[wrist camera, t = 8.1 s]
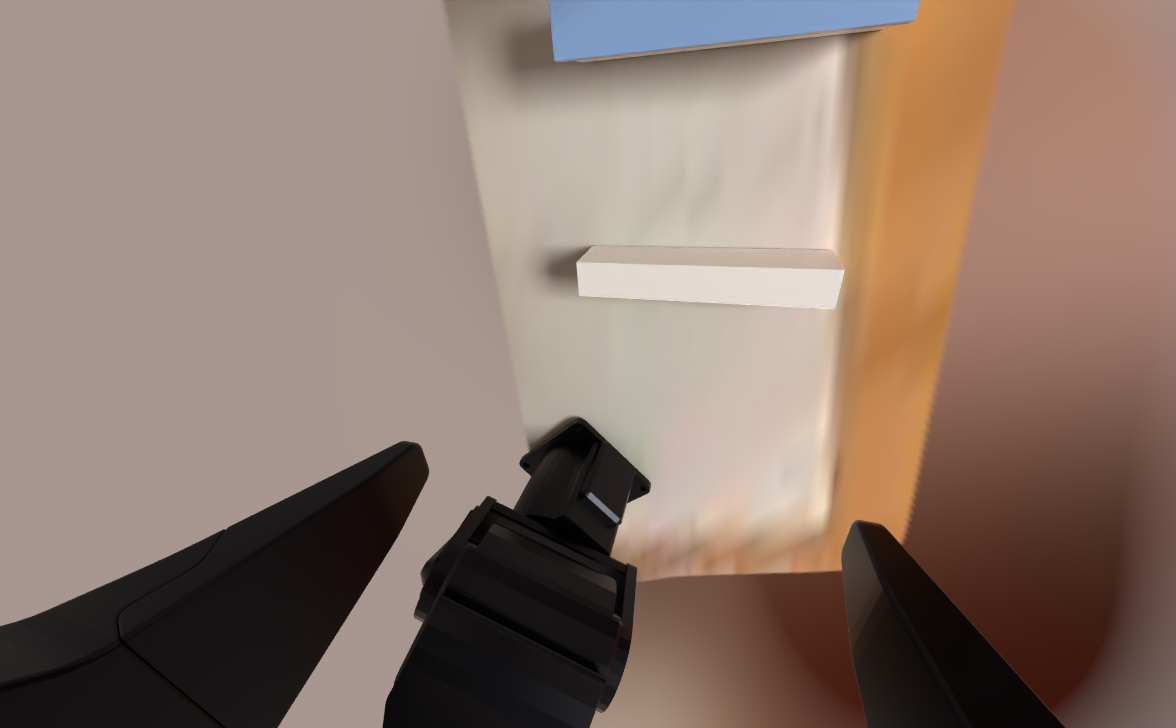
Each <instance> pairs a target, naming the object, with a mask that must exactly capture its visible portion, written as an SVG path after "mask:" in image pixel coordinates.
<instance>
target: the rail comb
mask: <svg viewBox="0 0 1176 728" xmlns="http://www.w3.org/2000/svg"><path fill="white" fill-rule="evenodd" d="M919 3H920V0H549V7H550V19H551V30H552V42H553V54H554V61H556V62H560V63H561V62H570V61H577V62H581V63H584V62H593V61H602V60H612V59H621V58H630V57H639V56H648V55H657V54H666V53H675V52H684V51H694V50H703V49H712V48H721V47H730V46H739V45H748V44H757V43H766V42H776V41H785V40H794V39H803V38H812V37H821V36H830V35H839V34H848V33H858V32H867V31H876V30H883V29H885V28H887V27H889V26H892V25H901V24H908V23H910V22H912V21H915V18H916V14H917V11H918V7H919ZM576 265H577V277H578V290H579V296H589V297H609V298H628V299H647V300H667V301H686V302H705V303H725V304H744V305H763V306H783V307H802V308H821V309H835V307H836V303H837V299H838V295H839V291H840V287H841V283H842V279H843V275H844V271H845V270H844V268H843V266H842V265H841V263H840V262H839V260H838V259H837V257H836V256H835V254H834V253H833V251H832V250H814V249H755V248H695V247H636V246H592V247H591V248H590V249H589V250H588V251H587V252H586V253H585V254H584V255H583V256H582V257H581V258H580V259H579V260H578V261H577V262H576Z"/></svg>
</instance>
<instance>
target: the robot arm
mask: <svg viewBox="0 0 1176 728" xmlns="http://www.w3.org/2000/svg"><path fill="white" fill-rule="evenodd" d="M578 426H580V427H582V428H583V429H581V428H579V427H578ZM520 466H521V467H522V468H523V469H524V470H525V471H526V472H527V473H528V474H530V475H531V478H530V480H529V482H528V484H527V485H526V487H525V489H524V491H523V493H522V495H521V496H520V498H519V500H518V502H517V504H516V505H515V507H514V509H513V510H512V509H510V508H508V507H506V506H504V505H502V504H500V503H498V502H496V501H497V500H495V499H494V498H491V497H489V496H487V497H486V498H485V500H484V501H483V502H482V504H481V505H480V506H476V507H475V508H474V510H471V511H470V512H469V514H468V515H467V517H466V518H465V520H464V521H463V523H462V524H461V526H460V528H459V529H458V530H457V532H456V533H455V534H454V535H453V537H452V538H451V539H450V540H449V541H448V542H447V543H446V544H445V545H443V546H442V548H440V549H439V551H437V552H436V553H435V554H434V555H433V556H432V557H431V558H430V559H429V560H428V561H427V562H426V564H425V565H424V567H423V569H422V571H421V578H422V584H423V588H422V590H421V593H420V599H419V601H418V603H417V606H416V609H415V612H414V618H415V619H417V620H419V621H421V622H423V624H422V626H421V628H420V630H419V632H418V634H417V636H416V638H415V640H414V642H413V644H412V646H411V648H410V650H409V652H408V654H407V656H406V658H405V660H404V662H403V664H402V666H401V668H400V670H399V672H398V674H397V676H396V679H395V681H394V686H393V688H392V690H391V692H390V694H389V695H388V698H387V700H386V705H385V713H384V721H383V728H589V727H590V724H591V722H592V719H593V716H594V714H595V711H598V712H600V713H602V712H604V711H605V710H606V709H607V708H608V706H609V704H610V703H611V701H612V699H613V697H614V695H615V693H616V690H617V688H618V686H619V683H620V681H621V678H622V675H623V672H624V669H625V665H626V662H627V657H628V654H629V649H630V644H631V637H632V628H633V614H634V602H635V588H636V575H637V567H635V566H633V565H631V564H628V563H627V564H624V563H622V562H620V561H618V560H616V559H614V558H612V557H610V555H611V552H612V548H613V544H614V541H615V537H616V533H617V530H618V526H619V525H620V524H621V523H622V520H623V516H624V512H625V509H626V505H627V503H629V502H631V501H633V500H635V499H637V498H639V497H641V496H643V495H645V494H648V493H649V491H650V488H651V483H650V482H649V480H648V479H647V478H645V477H644V476H643V475H642V474H641V473H640V472H639V471H638V470H637V469H636V468H635V467H634V466H633V465H632V464H631V463H630V462H629V461H628V460H627V459H626V458H624V457H623V456H622V455H621V454H620V453H619V452H618V451H617V450H616V449H615V448H614V447H613V446H612V445H611V444H610V443H609V442H608V441H607V440H606V439H605V438H603V437H602V436H601V435H600V434H599V433H598V432H597V431H596V430H595V429H594V428H593V427H592V426H591V425H590V424H589V423H588V422H587V421H585V420H583V419H577V420H575V421H573V422H572V423H570V424H569V425H567V426H566V427H565V428H563V429H562V430H560V431H559V432H557V433H556V434H554V435H553V436H552V437H550V438H549V439H547V440H546V441H544V442H543V443H542V444H540V445H539V446H537V447H536V448H534V449H533V450H531V451H530V452H529V453H527V454H526V455H524V456H523V457H522V459H521V460H520ZM428 475H429V467H428V464H427V462H426V459H425V456H424V453H423V450H422V448H421V446H420V445H419V444H418V443H413V442H407V441H402V442H399V443H397V444H395V445H393V446H391V447H389V448H387V449H385V450H383V451H381V452H379V453H377V454H375V455H373V456H371V457H369V458H367V459H365V460H363V461H361V462H359V463H357V464H355V465H353V466H351V467H349V468H347V469H344V470H342V471H341V472H338V473H336V474H335V475H333V476H331V477H329V478H327V479H324V480H322V481H320V482H318V483H317V484H314V485H312V486H310V487H308V488H306V489H304V490H302V491H300V492H298V493H296V494H294V495H292V496H290V497H288V498H286V499H284V500H282V501H280V502H278V503H276V504H274V505H272V506H270V507H268V508H266V509H264V510H262V511H260V512H258V513H256V514H254V515H252V516H250V517H248V518H246V519H244V520H242V521H240V522H238V523H236V524H234V525H232V526H230V527H228V528H227V529H226V530H222V531H220V532H218V533H216V534H214V535H211V536H210V537H208V538H206V539H204V540H201V541H199V542H197V543H195V544H193V545H191V546H189V547H187V548H185V549H183V550H181V551H179V552H177V553H174V554H172V555H170V556H168V557H166V558H164V559H162V560H159V561H157V562H155V563H153V564H151V565H148V566H146V567H144V568H142V569H139V570H137V571H135V572H133V573H131V574H128V575H126V576H124V577H122V578H119V579H117V580H115V581H112V582H110V583H108V584H105V585H103V586H101V587H99V588H96V589H94V590H92V591H90V592H87V593H85V594H83V595H81V596H78V597H76V598H74V599H72V600H69V601H67V602H65V603H62V604H60V605H58V606H56V607H53V608H51V609H49V610H47V611H44V612H42V613H39V614H37V615H34V616H32V617H29V618H26V619H23V620H20V621H17V622H14V623H10V624H6V625H3V626H0V728H278V726H279V724H280V723H281V721H282V720H283V718H284V717H285V715H286V713H287V712H288V710H289V709H290V707H291V705H292V704H293V702H294V701H295V699H296V698H297V696H298V695H299V693H300V691H301V690H302V688H303V687H304V685H305V683H306V682H307V680H308V679H309V677H310V675H311V674H312V672H313V671H314V669H315V668H316V666H317V664H318V663H319V661H320V660H321V658H322V656H323V655H324V653H325V651H326V650H327V649H328V647H329V645H330V644H331V642H332V641H333V639H334V637H335V636H336V634H337V633H338V631H339V629H340V628H341V626H342V625H343V623H344V622H345V620H346V618H347V616H348V615H349V614H350V612H351V611H352V609H353V607H354V606H355V604H356V603H357V601H358V599H359V598H360V596H361V595H362V593H363V591H364V590H365V588H366V587H367V585H368V583H369V582H370V580H371V579H372V577H373V576H374V574H375V572H376V571H377V569H378V568H379V566H380V565H381V563H382V561H383V560H384V558H385V557H386V555H387V553H388V552H389V550H390V549H391V547H392V545H393V543H394V542H395V540H396V539H397V537H398V535H399V533H400V531H401V530H402V528H403V526H404V524H405V522H406V520H407V518H408V516H409V514H410V512H411V510H412V508H413V506H414V504H415V502H416V500H417V498H418V496H419V494H420V492H421V490H422V489H423V486H424V484H425V482H426V480H427V478H428ZM643 486H644V487H643ZM841 561H842V571H843V581H844V590H845V600H846V609H847V619H848V627H849V638H850V646H851V652H852V658H853V663H854V668H855V673H856V678H857V682H858V686H859V691H860V696H861V700H862V705H863V709H864V714H865V718H866V723H867V727H868V728H1066V727H1065V726H1064V725H1063V724H1062V723H1061V722H1060V721H1059V720H1058V719H1057V718H1056V716H1055V715H1054V714H1053V713H1052V712H1051V711H1050V710H1049V709H1048V707H1047V706H1046V705H1045V704H1044V703H1043V702H1042V701H1041V700H1040V699H1039V698H1038V696H1037V695H1036V694H1035V693H1034V692H1033V691H1032V690H1031V689H1030V687H1029V686H1028V685H1027V684H1026V683H1025V682H1024V681H1023V680H1022V679H1021V677H1020V676H1019V675H1018V674H1017V673H1016V672H1015V671H1014V670H1013V669H1012V668H1011V666H1010V665H1009V664H1008V663H1007V662H1006V661H1005V660H1004V659H1003V657H1002V656H1001V655H1000V654H999V653H998V652H997V651H996V650H995V649H994V648H993V646H991V644H990V643H989V642H988V641H987V640H986V639H985V638H984V637H983V636H982V634H981V633H980V632H979V631H978V630H977V629H976V628H975V626H974V625H973V624H972V623H971V622H970V621H969V620H968V619H967V618H966V616H965V615H964V614H963V613H962V612H961V611H960V610H959V609H958V608H957V606H956V605H955V604H954V603H953V602H952V601H951V600H950V599H949V598H948V596H947V595H946V594H945V593H944V592H943V591H942V590H941V589H940V588H939V586H938V585H937V584H936V583H935V582H934V581H933V580H932V579H931V578H930V576H929V575H928V574H927V573H926V572H925V571H924V570H923V569H922V568H921V567H920V565H919V564H918V563H917V562H916V561H915V560H914V559H913V558H912V556H911V555H910V554H909V553H908V552H907V551H906V550H905V549H904V548H903V546H902V545H901V544H900V543H899V542H898V541H897V540H896V539H895V538H894V536H893V535H892V534H891V533H890V532H889V531H888V530H887V529H886V528H885V527H884V526H883V525H881V524H878V523H873V522H867V521H861V520H856V521H854V522H853V524H852V525H851V528H850V531H849V533H848V536H847V538H846V541H845V544H844V546H843V549H842V556H841Z"/></svg>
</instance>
